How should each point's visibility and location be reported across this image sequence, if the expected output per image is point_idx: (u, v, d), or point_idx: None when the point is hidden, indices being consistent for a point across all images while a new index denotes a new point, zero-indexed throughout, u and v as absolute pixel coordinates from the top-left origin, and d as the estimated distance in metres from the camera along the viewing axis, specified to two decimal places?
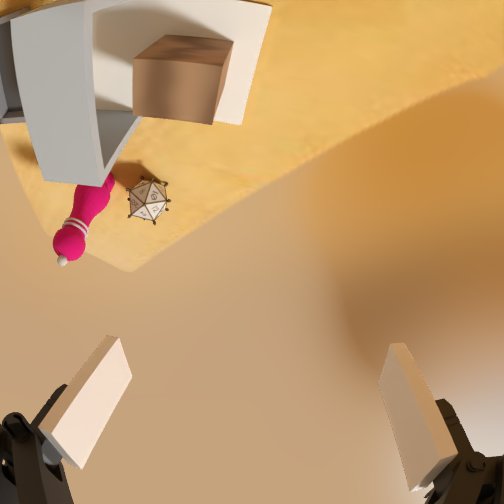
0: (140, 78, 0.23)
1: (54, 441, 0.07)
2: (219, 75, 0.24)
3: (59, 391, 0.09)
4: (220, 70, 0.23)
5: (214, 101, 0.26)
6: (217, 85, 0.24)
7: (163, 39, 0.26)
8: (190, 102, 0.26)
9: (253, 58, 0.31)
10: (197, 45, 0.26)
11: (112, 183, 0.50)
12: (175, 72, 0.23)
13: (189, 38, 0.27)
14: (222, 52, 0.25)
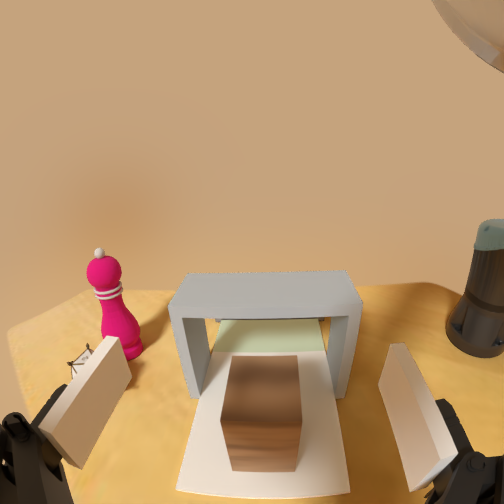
0: (276, 361, 0.29)
1: (54, 441, 0.07)
2: (290, 420, 0.21)
3: (59, 391, 0.09)
4: (297, 420, 0.21)
5: (254, 420, 0.21)
6: (277, 420, 0.21)
7: None
8: (250, 400, 0.24)
9: (276, 493, 0.22)
10: None
11: None
12: (286, 385, 0.25)
13: None
14: None
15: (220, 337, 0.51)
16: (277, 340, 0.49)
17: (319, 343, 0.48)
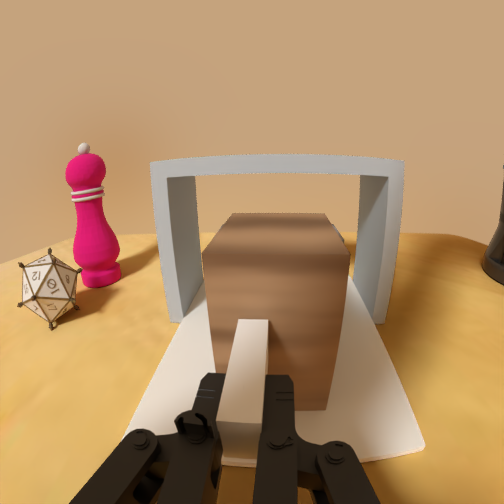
0: (295, 215, 0.21)
1: (231, 432, 0.09)
2: (329, 253, 0.13)
3: (207, 380, 0.11)
4: (340, 253, 0.13)
5: (263, 253, 0.14)
6: (305, 252, 0.13)
7: None
8: (257, 237, 0.16)
9: None
10: None
11: (90, 280, 0.36)
12: (314, 228, 0.17)
13: None
14: None
15: None
16: None
17: None
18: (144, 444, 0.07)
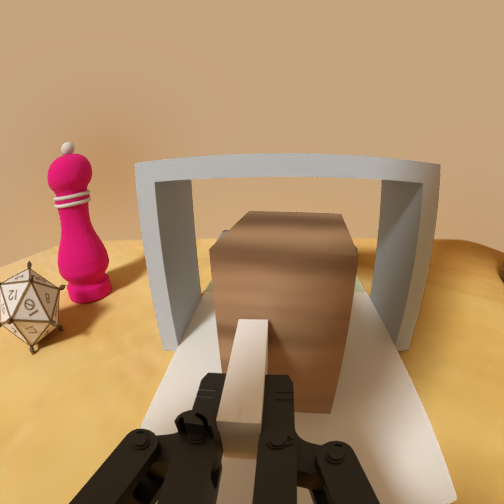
0: (311, 215, 0.20)
1: (232, 432, 0.09)
2: (336, 253, 0.13)
3: (207, 380, 0.11)
4: (348, 254, 0.13)
5: (270, 251, 0.13)
6: (312, 251, 0.13)
7: None
8: (267, 235, 0.16)
9: None
10: None
11: (77, 295, 0.31)
12: (327, 228, 0.17)
13: None
14: None
15: None
16: None
17: (356, 285, 0.34)
18: (144, 444, 0.07)
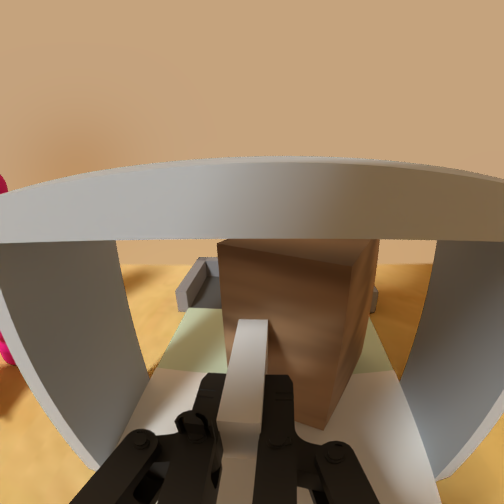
0: None
1: (232, 432, 0.09)
2: (330, 261, 0.12)
3: (208, 380, 0.11)
4: (342, 264, 0.12)
5: (267, 251, 0.14)
6: (305, 256, 0.13)
7: (365, 329, 0.21)
8: None
9: None
10: (354, 342, 0.16)
11: (5, 355, 0.19)
12: None
13: (353, 365, 0.19)
14: (342, 352, 0.14)
15: (179, 339, 0.25)
16: None
17: (379, 355, 0.22)
18: (144, 444, 0.07)
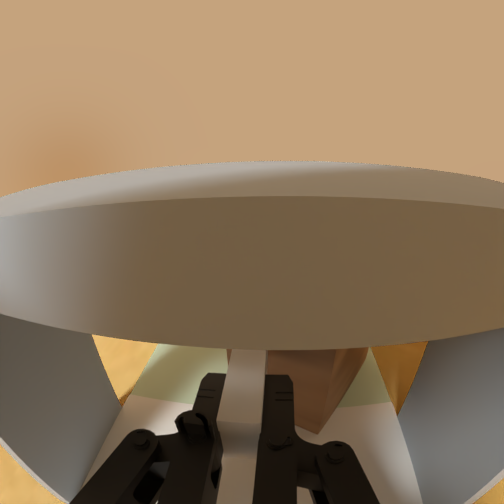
0: None
1: (232, 432, 0.09)
2: None
3: (208, 380, 0.11)
4: None
5: None
6: None
7: None
8: None
9: None
10: (354, 348, 0.16)
11: None
12: None
13: (354, 371, 0.19)
14: (338, 358, 0.13)
15: (156, 362, 0.22)
16: None
17: (376, 383, 0.19)
18: (144, 444, 0.07)
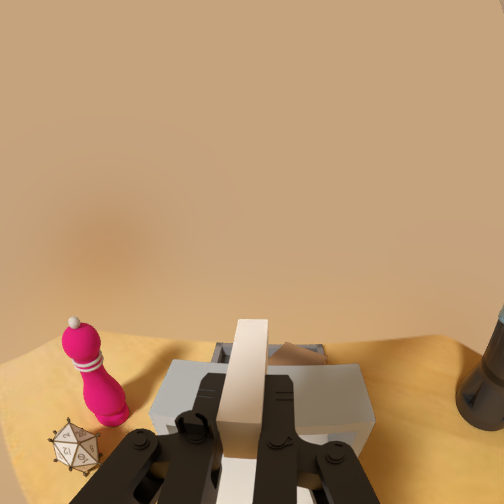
0: (311, 354, 0.39)
1: (232, 432, 0.09)
2: None
3: (207, 381, 0.11)
4: None
5: None
6: None
7: None
8: None
9: None
10: None
11: (104, 422, 0.36)
12: None
13: None
14: None
15: None
16: None
17: None
18: (144, 444, 0.07)
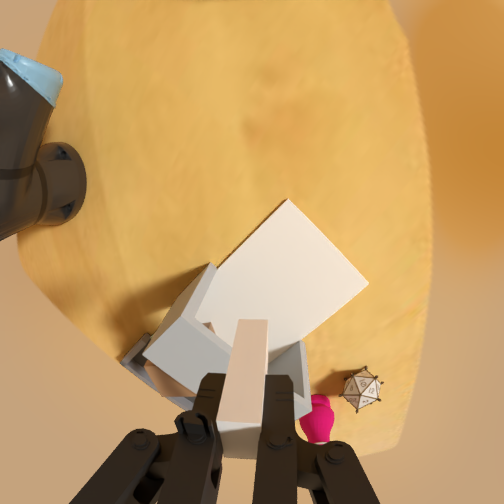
0: (154, 376, 0.40)
1: (232, 432, 0.09)
2: None
3: (208, 381, 0.11)
4: None
5: None
6: None
7: None
8: None
9: (322, 239, 0.42)
10: None
11: (326, 400, 0.53)
12: None
13: None
14: None
15: None
16: None
17: None
18: (144, 444, 0.07)
